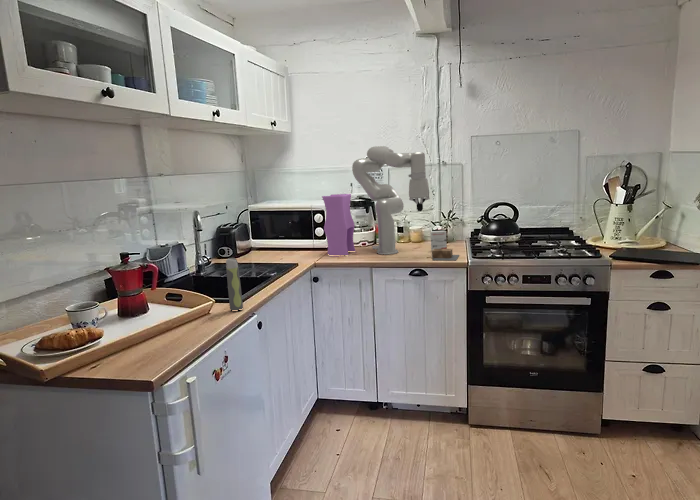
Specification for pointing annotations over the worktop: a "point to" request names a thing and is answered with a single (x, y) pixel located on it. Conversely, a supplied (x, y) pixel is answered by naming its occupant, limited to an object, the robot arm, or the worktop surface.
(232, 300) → the grey green tall block
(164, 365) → the worktop surface
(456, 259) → the mat
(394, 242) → the robot arm
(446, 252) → the walnut block
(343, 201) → the container
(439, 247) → the ink box
